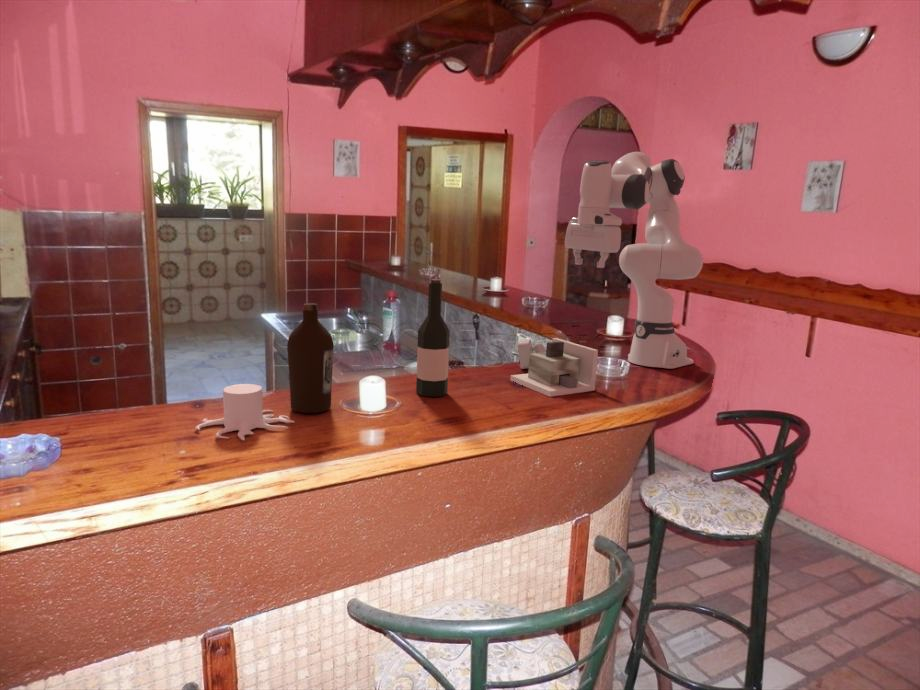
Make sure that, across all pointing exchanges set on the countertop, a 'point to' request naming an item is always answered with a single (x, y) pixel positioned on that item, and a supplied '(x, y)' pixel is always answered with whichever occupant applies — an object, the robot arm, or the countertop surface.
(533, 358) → the cabinet block
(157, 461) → the countertop surface
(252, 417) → the tree stump
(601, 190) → the robot arm
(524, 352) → the white block with rod
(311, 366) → the olive oil
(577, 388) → the board
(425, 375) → the wine bottle
